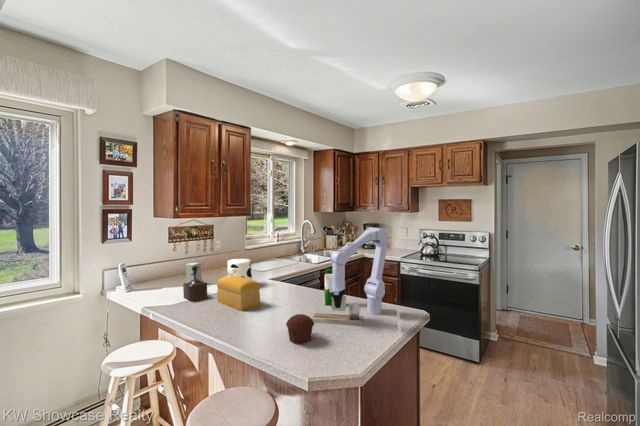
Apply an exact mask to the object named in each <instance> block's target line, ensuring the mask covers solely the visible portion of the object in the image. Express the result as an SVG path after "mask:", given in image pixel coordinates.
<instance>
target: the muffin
mask: <svg viewBox="0 0 640 426" xmlns="http://www.w3.org/2000/svg"><path fill="white" fill-rule="evenodd" d="M310 317H311V316H309V315H306V314H302V313H301V314H294V315H292V316H290V317H289V318H288V320H287V321H286V323H285V326H286V327H287V331H288V336H289V337H288V338H289V342H291V343H293V344H296V345H302V344H303V345H304V344H307V343H309V342H311V340H312V334H313V333H312V332H313V327H314V325H315V322H313V320H312V319H311V318H310Z"/></svg>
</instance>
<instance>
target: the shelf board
mask: <svg viewBox="0 0 640 426" xmlns="http://www.w3.org/2000/svg"><path fill="white" fill-rule="evenodd" d="M309 317H310V318H311V319H312V320H313V322H314V323H321V324H334V325H347V326H348V325H349V326H360V327H361V326H362V325H363V320H364V315H362V316H361V315H360V320H349V314H348V315H347V314H337V313H336V314H335V313H334V314H333V313H323V312H322V313H320V312H316V313H314V315H313V316H309Z"/></svg>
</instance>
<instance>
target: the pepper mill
mask: <svg viewBox="0 0 640 426" xmlns="http://www.w3.org/2000/svg"><path fill="white" fill-rule="evenodd" d="M191 269H192V270H193V274H190V275H191V276H193V275H194V280H192V281H190V282H188V283H187V282H185V283H183V284H182V286H183V287H182V288H183V289H182V290H183V299H184V298H185V299H187V300H189V301H188V302H190V301H193V302H197V301H196V300H198V301H201V300H200V299H202V300H205V299H204V298H206V299H208V298H207V297H208V283H207V282H205V281H204V280H201V278H202V277H201V278H200V280H198V279H196V273H197V269H198V267H197V266H193V267H192V268H191ZM185 299H184V300H185ZM187 300H186V301H187Z"/></svg>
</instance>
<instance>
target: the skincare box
mask: <svg viewBox="0 0 640 426" xmlns="http://www.w3.org/2000/svg"><path fill="white" fill-rule="evenodd" d="M193 266H197V267H198V269H197V273H196V279H198V280H200V278H201V280H202V268H201V263H200V262H190V263H189V262H188V263H186V264H185V274H186V275H185V276H186V283H188V282H190V281H192V280H194V275H193V276H191V275H190V274H193V270H192V269H191V268H192V267H193ZM202 281H203V280H202Z"/></svg>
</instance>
